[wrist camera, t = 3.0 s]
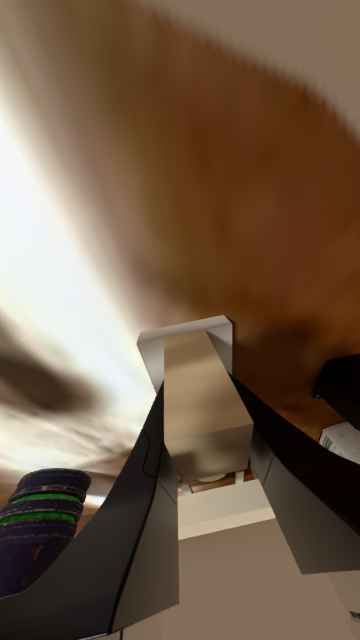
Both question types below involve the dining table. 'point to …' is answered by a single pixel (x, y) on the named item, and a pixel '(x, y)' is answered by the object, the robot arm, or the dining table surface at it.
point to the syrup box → (342, 441)
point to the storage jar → (38, 525)
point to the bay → (188, 491)
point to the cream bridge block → (223, 508)
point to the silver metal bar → (199, 397)
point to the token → (212, 478)
